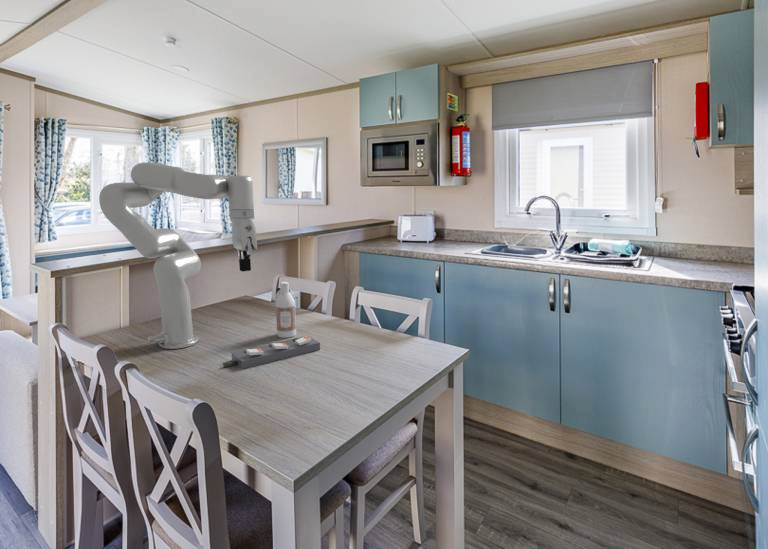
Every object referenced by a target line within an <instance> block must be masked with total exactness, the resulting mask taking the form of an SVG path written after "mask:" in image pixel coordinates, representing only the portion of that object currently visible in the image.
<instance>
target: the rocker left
mask: <svg viewBox="0 0 768 549" xmlns="http://www.w3.org/2000/svg"><path fill="white" fill-rule="evenodd" d="M245 349H246V353H247V354H249V355H260V354H263V353H264V351H262V350H261V349H250V348H245Z"/></svg>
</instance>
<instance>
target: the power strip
mask: <svg viewBox="0 0 768 549" xmlns="http://www.w3.org/2000/svg"><path fill="white" fill-rule="evenodd" d="M305 336H306V335H303V336H300V337H296V338H294V337H293V338H291V339H286V340H281V341H277V342H276V343H285V344H286V345H288V346H289V347H288V349H275V348H274V347H272V343H268V344H263V345H260V346H255V347H251V348H249V349H261V350H262V351H264V353H263V354H260V355H249V354H247V353H246V349H247V348H245V349H242V350H241V349H240V350H237V351H234V352H233V351H232V352H231V360H232V361H229V362H225V363H223V364H222V365H223V368H228V367H233V366H238V367H239V368H240V369H242V370H244V369H249V368H253V367H255V366H260V365H263V364H269V363H272V362H276V361H280V360H283V359H288V358H292V357H296V356H300V355H305V354H308V353H312V352H316V351H320V350H321V342H320V341H318V340H316V339H314V338H312V337H310V336H309V335H307V336H308V337H309V338H311V341H310V342H307V343H305V344H303V345H298V344H296V343H295V340H297V339H300V338H302V337H305Z"/></svg>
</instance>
